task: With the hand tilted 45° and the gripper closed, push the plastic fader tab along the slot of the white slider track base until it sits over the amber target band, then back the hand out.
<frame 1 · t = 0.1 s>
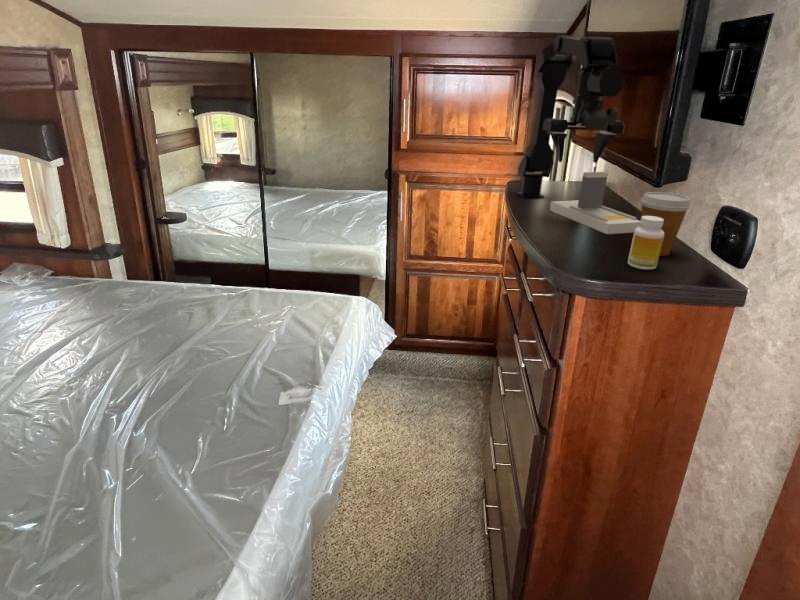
hand: (577, 162, 130), 15 cm above the dresser top, tool pointing down, fingers open, 9 cm apart
disposable coffee cup: (653, 252, 113), on the dresser top
white slider track base: (592, 220, 136), on the dresser top
supplement bottle: (641, 266, 104), on the dresser top
fader tab: (592, 190, 135), point 8 cm above the dresser top, slide at 0.0 cm
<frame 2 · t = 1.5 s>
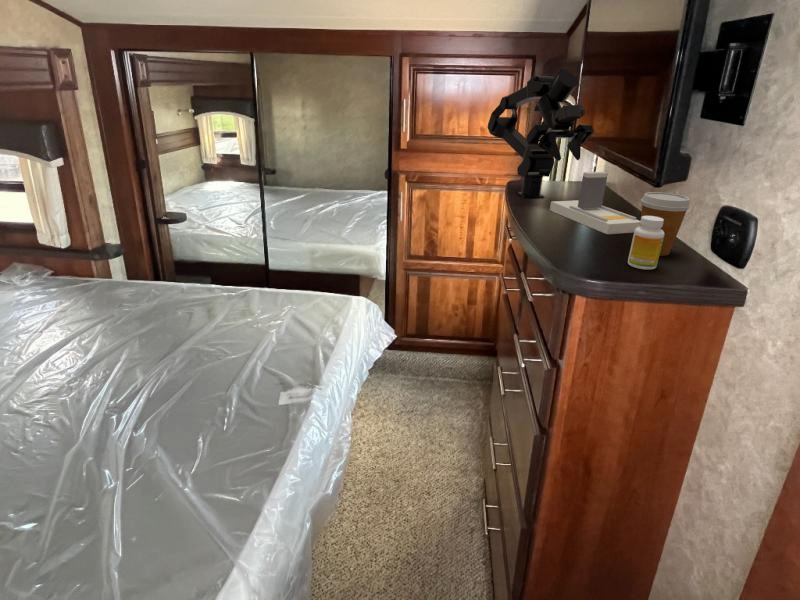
hand: (569, 159, 142), 14 cm above the dresser top, tool tilted 45°, fingers open, 6 cm apart
nothing on the dresser top moved.
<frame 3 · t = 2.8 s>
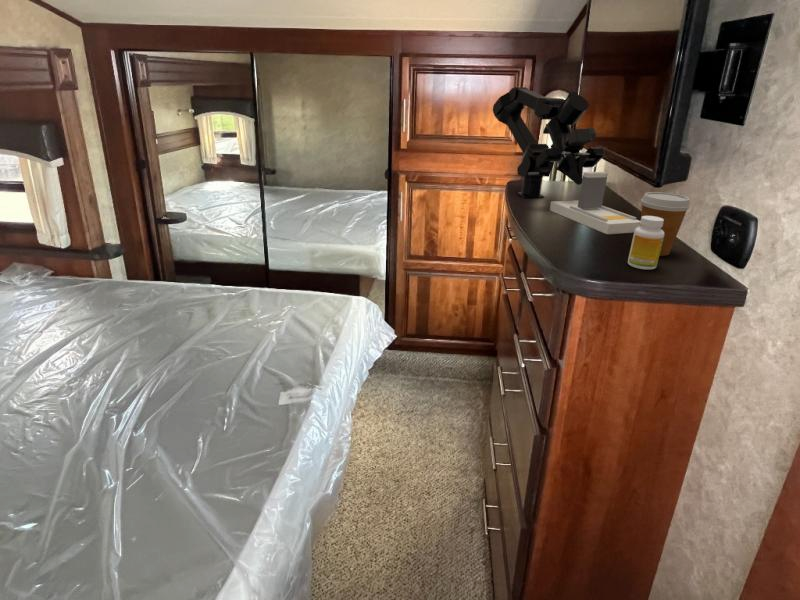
hand: (580, 183, 139), 8 cm above the dresser top, tool tilted 45°, fingers closed
nothing on the dresser top moved.
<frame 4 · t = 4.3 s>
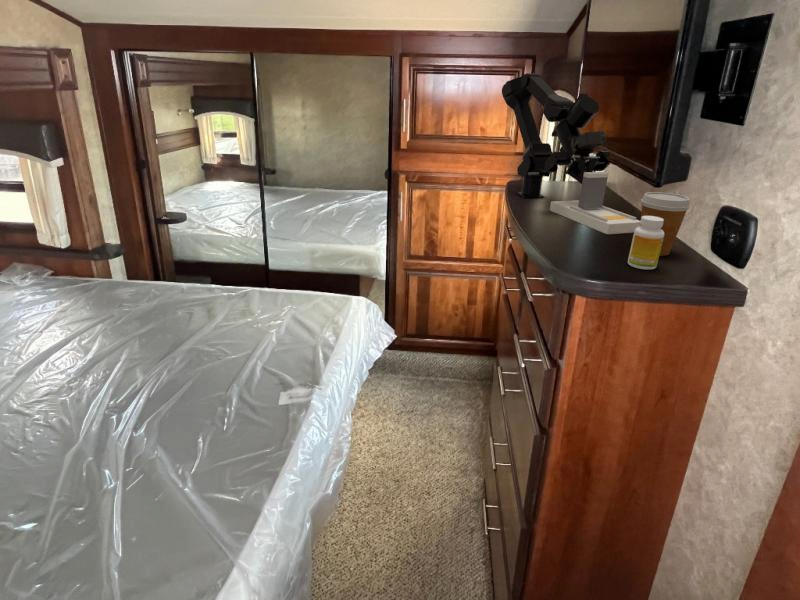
hand: (590, 188, 135), 8 cm above the dresser top, tool tilted 45°, fingers closed, pressing on fader tab
fader tab: (593, 190, 135), point 8 cm above the dresser top, slide at 0.2 cm, touching gripper
everything else where it was.
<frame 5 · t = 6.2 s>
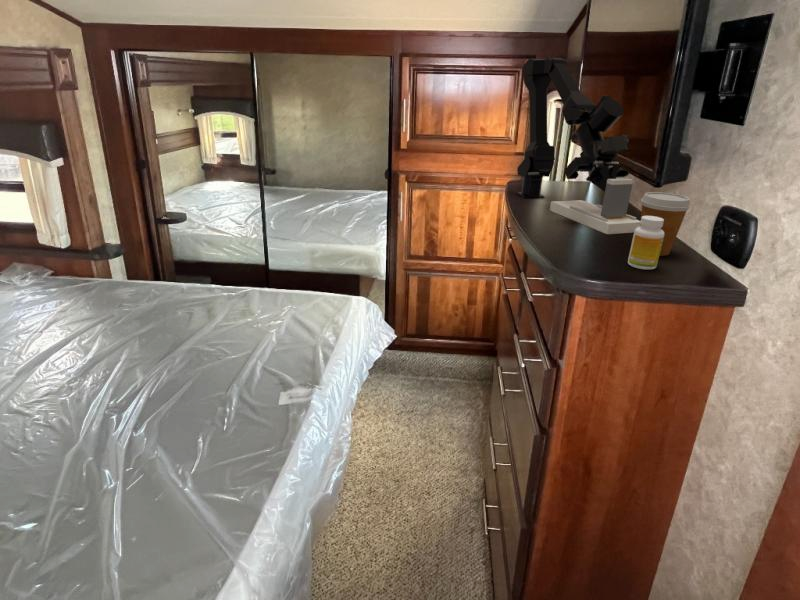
hand: (613, 196, 128), 8 cm above the dresser top, tool tilted 45°, fingers closed, pressing on fader tab
fader tab: (616, 198, 127), point 8 cm above the dresser top, slide at 9.2 cm, touching gripper
everything else where it was.
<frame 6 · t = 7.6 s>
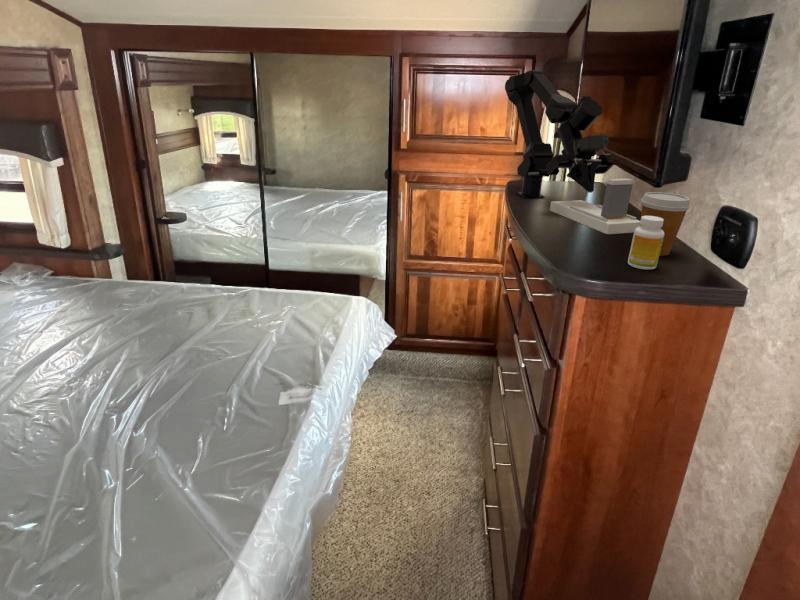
hand: (591, 191, 135), 7 cm above the dresser top, tool tilted 45°, fingers closed
fader tab: (616, 198, 127), point 8 cm above the dresser top, slide at 9.3 cm
everything else where it was.
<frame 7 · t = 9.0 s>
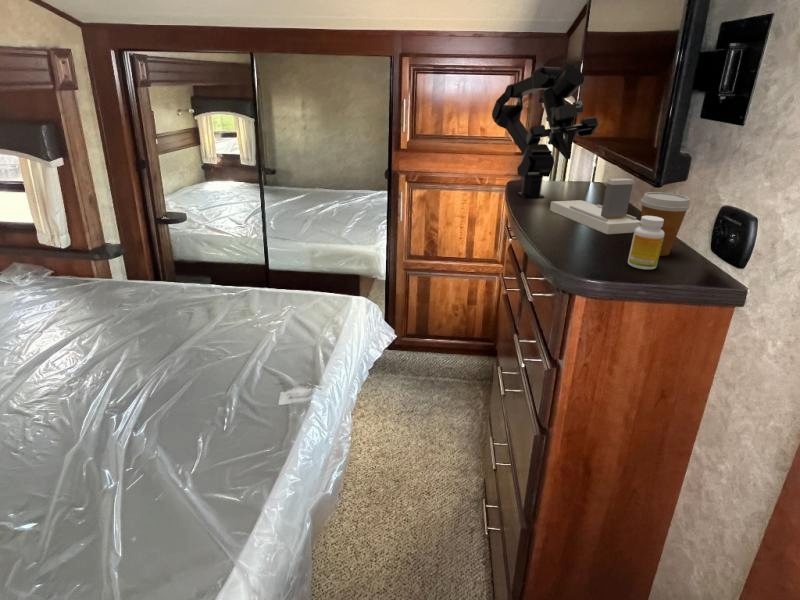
hand: (568, 158, 142), 14 cm above the dresser top, tool tilted 35°, fingers closed
nothing on the dresser top moved.
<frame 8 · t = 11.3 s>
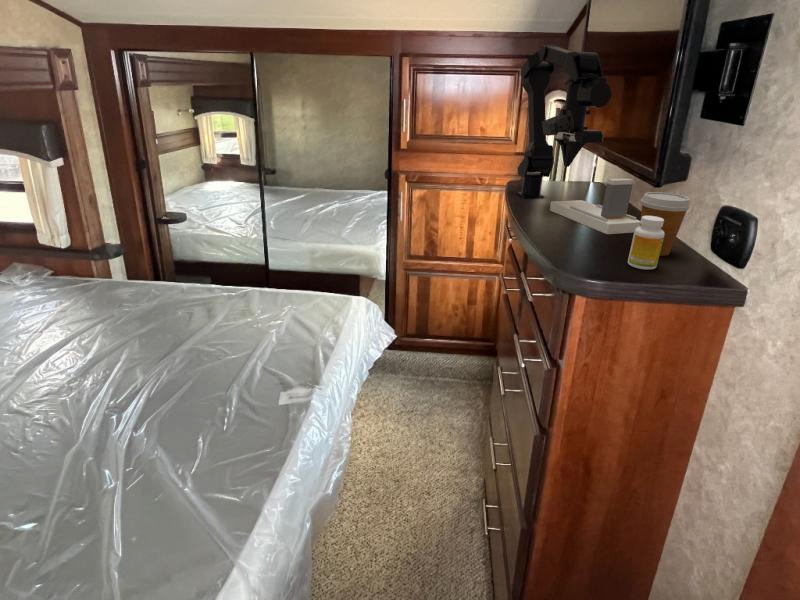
hand: (566, 166, 141), 12 cm above the dresser top, tool pointing down, fingers closed
nothing on the dresser top moved.
at the end: fader tab slide at 9.3 cm; disposable coffee cup moved 0.2 cm from its start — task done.
